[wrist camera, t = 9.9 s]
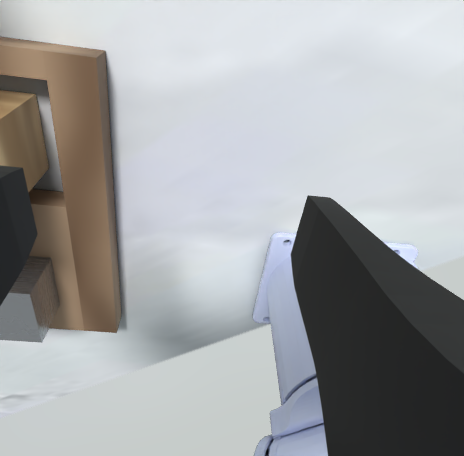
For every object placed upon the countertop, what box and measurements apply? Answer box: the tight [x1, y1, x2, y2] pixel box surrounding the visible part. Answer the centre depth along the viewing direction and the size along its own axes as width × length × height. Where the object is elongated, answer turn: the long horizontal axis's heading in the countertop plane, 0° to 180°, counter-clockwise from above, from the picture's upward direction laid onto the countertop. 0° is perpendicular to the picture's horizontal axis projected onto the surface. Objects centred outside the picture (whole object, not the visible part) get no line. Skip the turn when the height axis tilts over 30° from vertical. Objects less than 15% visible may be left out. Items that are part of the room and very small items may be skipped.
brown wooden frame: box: [0, 37, 121, 333], centre depth 21 cm, size 11×18×2 cm, turn 173°
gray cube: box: [0, 256, 60, 342], centre depth 22 cm, size 4×4×4 cm
